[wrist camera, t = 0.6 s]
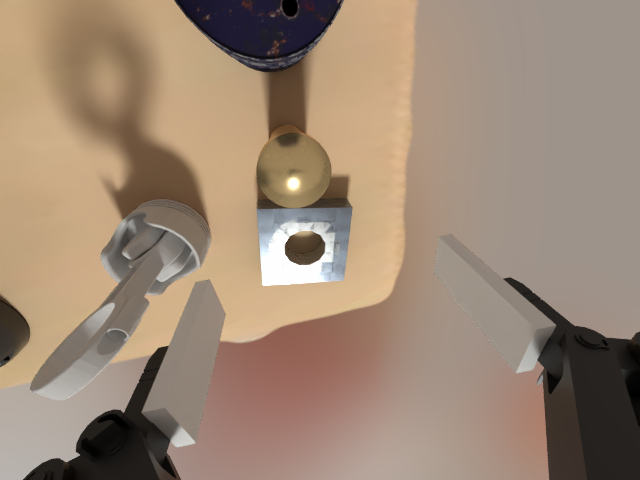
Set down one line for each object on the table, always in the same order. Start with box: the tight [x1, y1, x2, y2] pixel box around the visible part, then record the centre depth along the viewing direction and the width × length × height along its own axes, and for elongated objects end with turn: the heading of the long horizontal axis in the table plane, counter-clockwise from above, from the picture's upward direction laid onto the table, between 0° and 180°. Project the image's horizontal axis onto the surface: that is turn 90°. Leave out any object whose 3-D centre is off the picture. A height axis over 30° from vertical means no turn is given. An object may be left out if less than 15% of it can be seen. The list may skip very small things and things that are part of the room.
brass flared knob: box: [257, 124, 331, 208], centre depth 26 cm, size 6×6×12 cm
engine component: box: [30, 199, 211, 401], centre depth 26 cm, size 11×20×10 cm
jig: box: [257, 199, 353, 285], centre depth 37 cm, size 12×12×3 cm
